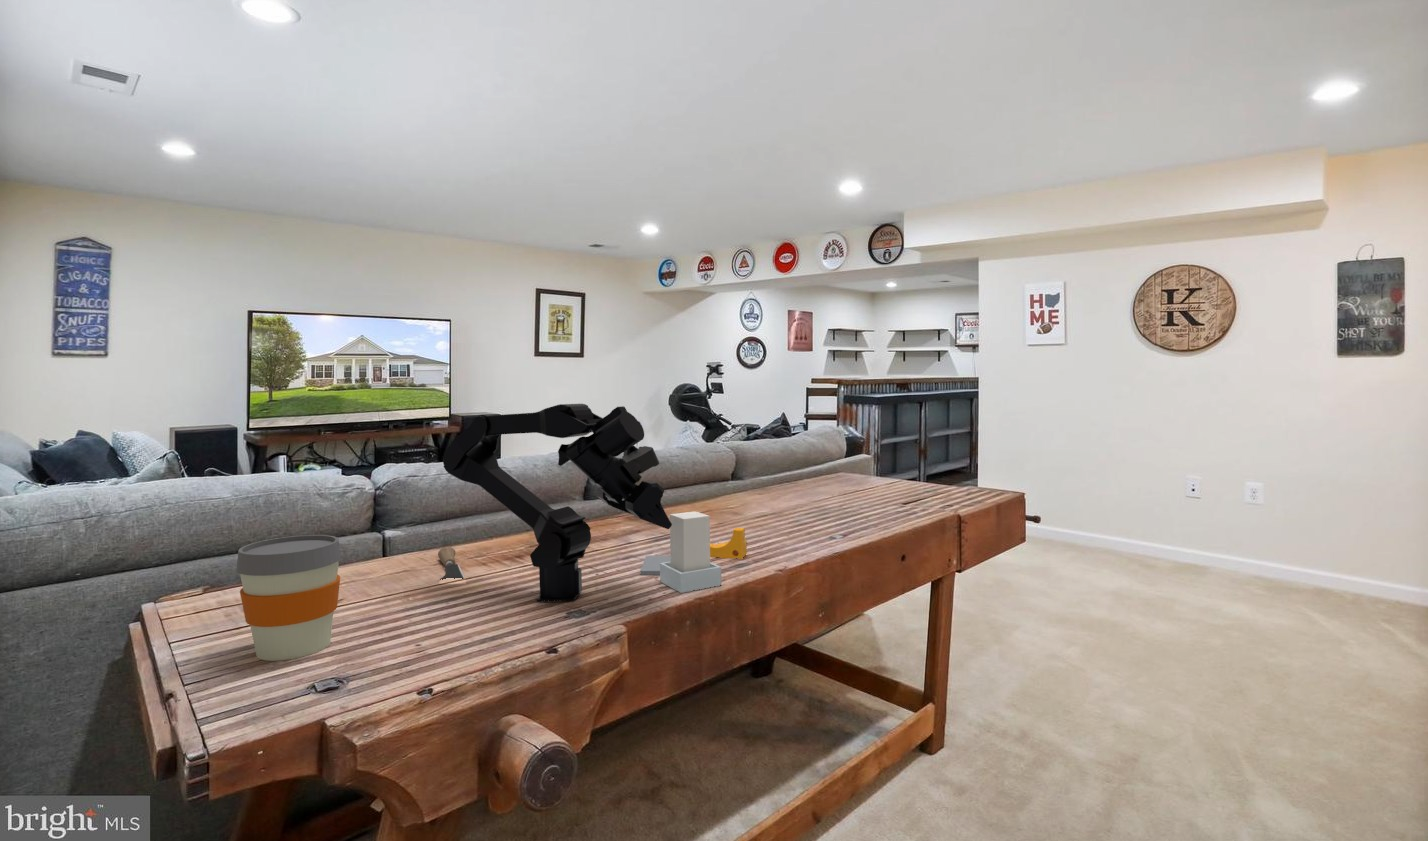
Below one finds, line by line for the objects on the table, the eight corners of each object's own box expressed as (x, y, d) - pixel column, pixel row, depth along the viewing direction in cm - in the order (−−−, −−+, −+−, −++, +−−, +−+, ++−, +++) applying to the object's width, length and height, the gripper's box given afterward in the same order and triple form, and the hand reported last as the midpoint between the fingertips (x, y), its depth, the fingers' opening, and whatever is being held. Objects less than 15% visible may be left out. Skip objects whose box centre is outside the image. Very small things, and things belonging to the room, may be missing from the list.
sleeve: (680, 593, 118) (680, 573, 118) (660, 581, 125) (659, 563, 125) (721, 585, 122) (721, 566, 122) (698, 574, 129) (698, 557, 129)
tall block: (684, 589, 120) (683, 519, 119) (670, 582, 125) (669, 514, 124) (710, 585, 123) (709, 515, 122) (696, 577, 127) (695, 511, 127)
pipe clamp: (746, 555, 145) (746, 526, 145) (742, 560, 141) (742, 530, 140) (694, 552, 148) (694, 524, 148) (688, 557, 144) (688, 528, 144)
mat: (640, 575, 129) (640, 571, 129) (646, 559, 141) (646, 555, 141) (701, 574, 130) (701, 570, 130) (701, 558, 142) (701, 555, 141)
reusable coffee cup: (358, 646, 94) (354, 542, 94) (254, 674, 85) (249, 560, 84) (327, 625, 103) (323, 530, 102) (229, 649, 94) (225, 545, 93)
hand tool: (441, 586, 120) (427, 549, 142) (442, 601, 120) (428, 563, 142) (473, 580, 122) (454, 545, 144) (474, 595, 123) (455, 558, 145)
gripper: (652, 435, 108) (711, 496, 114) (611, 429, 124) (665, 482, 130) (607, 486, 104) (670, 546, 110) (571, 473, 121) (628, 526, 127)
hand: (658, 522), depth 119 cm, fingers open, 9 cm apart
